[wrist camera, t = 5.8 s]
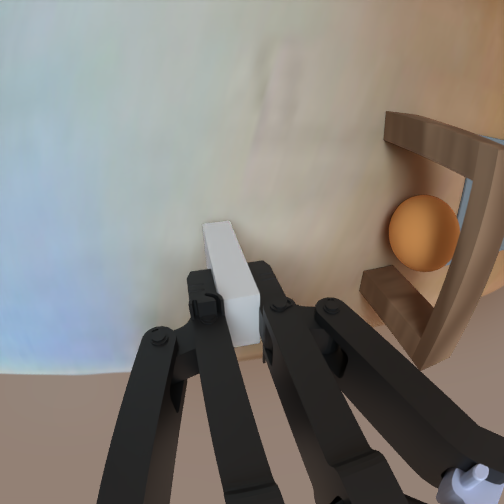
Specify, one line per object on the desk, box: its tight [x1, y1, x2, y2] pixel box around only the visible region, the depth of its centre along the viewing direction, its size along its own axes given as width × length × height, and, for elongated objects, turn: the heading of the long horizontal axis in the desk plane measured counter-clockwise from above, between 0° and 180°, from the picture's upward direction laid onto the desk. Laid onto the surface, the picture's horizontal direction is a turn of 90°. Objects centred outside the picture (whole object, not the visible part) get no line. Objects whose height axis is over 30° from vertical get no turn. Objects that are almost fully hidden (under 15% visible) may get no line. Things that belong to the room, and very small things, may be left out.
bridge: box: [359, 111, 504, 371], centre depth 18 cm, size 3×14×9 cm, turn 1°
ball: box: [389, 195, 460, 272], centre depth 20 cm, size 6×6×6 cm
